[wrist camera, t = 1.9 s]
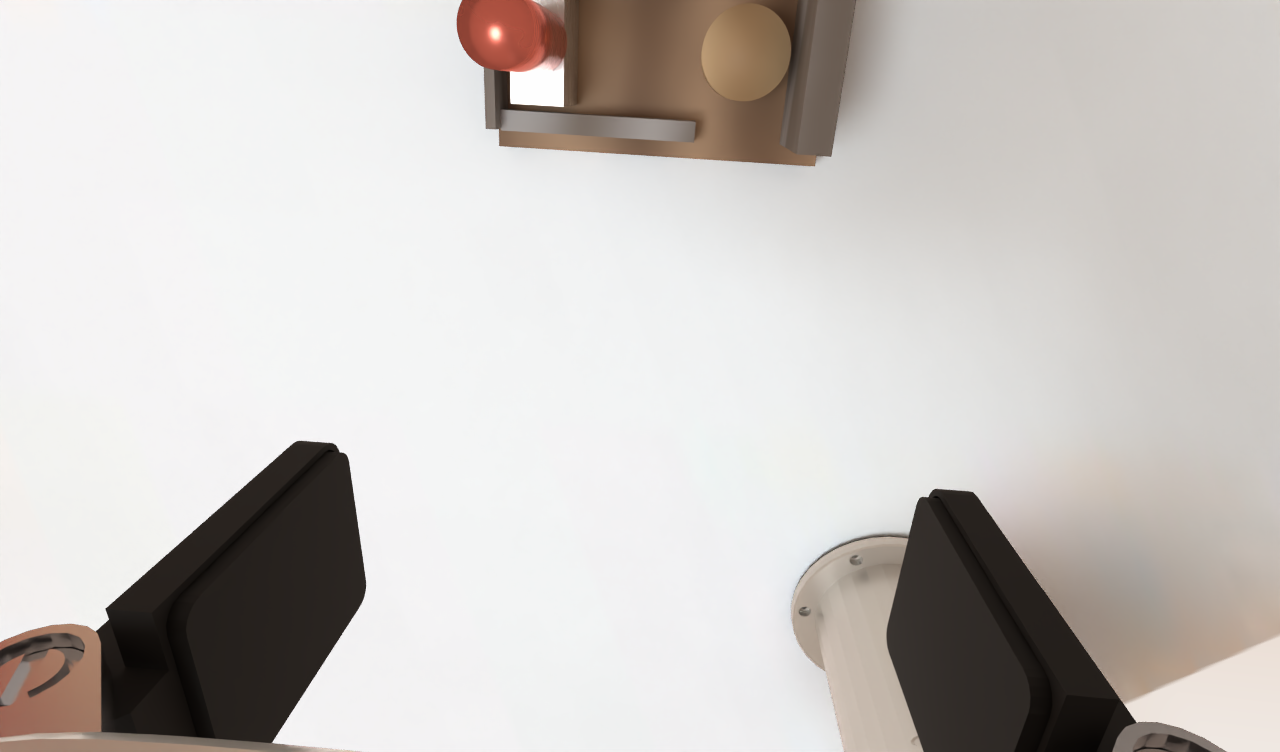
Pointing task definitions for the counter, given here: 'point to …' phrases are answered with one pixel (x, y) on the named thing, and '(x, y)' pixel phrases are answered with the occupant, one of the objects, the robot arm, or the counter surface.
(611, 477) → the counter surface
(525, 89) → the handle
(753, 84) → the tan wooden knob
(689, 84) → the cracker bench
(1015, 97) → the counter surface
